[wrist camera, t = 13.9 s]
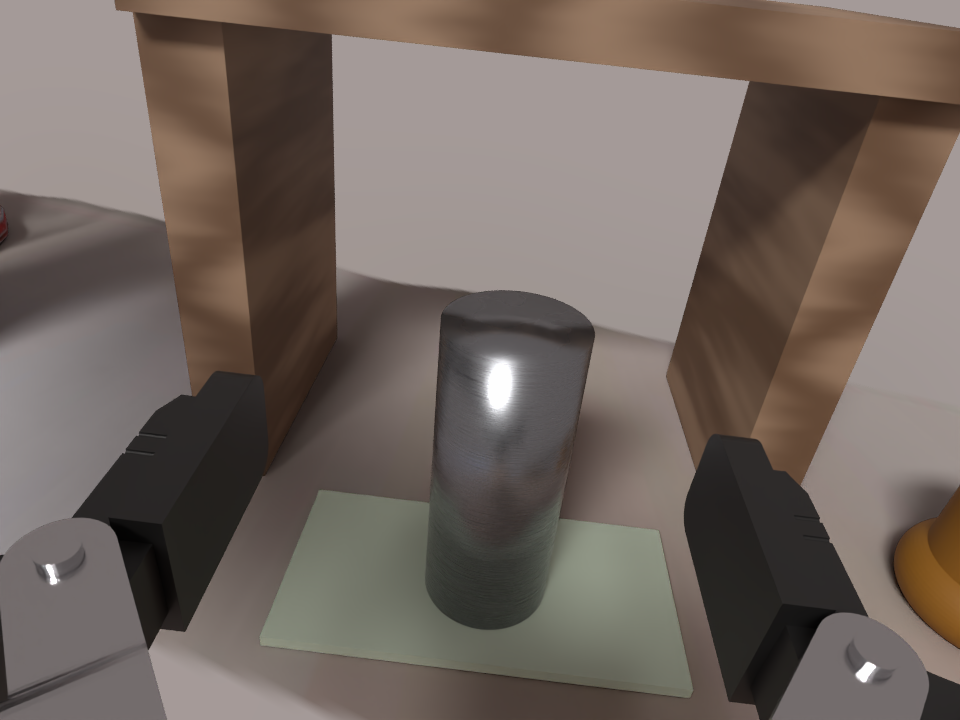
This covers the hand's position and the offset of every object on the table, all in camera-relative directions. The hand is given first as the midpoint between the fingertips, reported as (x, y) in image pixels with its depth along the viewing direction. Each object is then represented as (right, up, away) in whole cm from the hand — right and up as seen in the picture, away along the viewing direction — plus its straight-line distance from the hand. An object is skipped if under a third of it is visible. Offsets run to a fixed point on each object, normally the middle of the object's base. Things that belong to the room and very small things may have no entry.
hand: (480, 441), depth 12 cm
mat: (0, -8, +16) cm, 18 cm away
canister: (0, -8, +16) cm, 17 cm away
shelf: (+1, -2, +26) cm, 26 cm away
